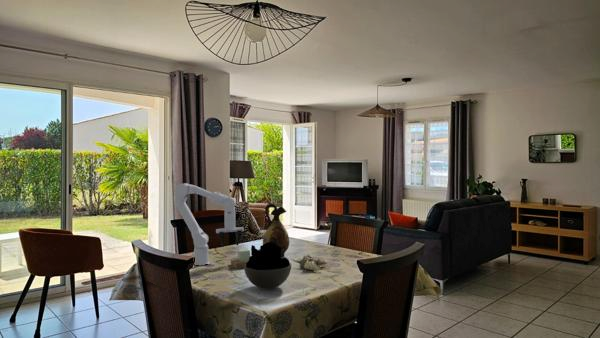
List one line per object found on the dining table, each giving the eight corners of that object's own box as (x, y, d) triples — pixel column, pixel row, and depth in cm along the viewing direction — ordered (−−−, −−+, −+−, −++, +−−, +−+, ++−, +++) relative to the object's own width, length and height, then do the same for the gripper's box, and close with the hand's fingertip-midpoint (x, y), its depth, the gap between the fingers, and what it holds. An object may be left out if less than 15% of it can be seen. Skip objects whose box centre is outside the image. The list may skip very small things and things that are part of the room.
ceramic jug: (291, 252, 240) (290, 202, 239) (287, 258, 224) (287, 205, 224) (262, 252, 241) (262, 202, 241) (257, 258, 226) (257, 204, 226)
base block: (230, 264, 213) (230, 258, 213) (250, 262, 217) (250, 256, 217) (236, 269, 203) (236, 263, 203) (257, 266, 208) (257, 260, 208)
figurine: (327, 254, 212) (335, 262, 196) (327, 265, 213) (335, 274, 196) (290, 253, 209) (295, 261, 192) (289, 265, 209) (294, 274, 193)
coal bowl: (291, 280, 181) (291, 239, 181) (291, 295, 161) (291, 248, 161) (246, 281, 181) (246, 239, 181) (241, 296, 161) (241, 249, 161)
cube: (237, 259, 211) (237, 249, 211) (247, 258, 213) (247, 248, 213) (240, 261, 207) (240, 251, 207) (250, 260, 209) (249, 250, 209)
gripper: (218, 222, 208) (218, 248, 208) (245, 220, 215) (245, 245, 215) (215, 220, 215) (215, 245, 215) (241, 218, 221) (241, 243, 221)
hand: (230, 245), depth 215 cm, fingers open, 7 cm apart
